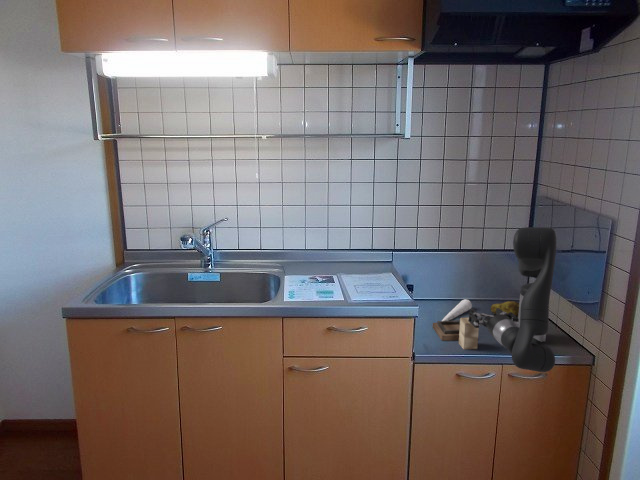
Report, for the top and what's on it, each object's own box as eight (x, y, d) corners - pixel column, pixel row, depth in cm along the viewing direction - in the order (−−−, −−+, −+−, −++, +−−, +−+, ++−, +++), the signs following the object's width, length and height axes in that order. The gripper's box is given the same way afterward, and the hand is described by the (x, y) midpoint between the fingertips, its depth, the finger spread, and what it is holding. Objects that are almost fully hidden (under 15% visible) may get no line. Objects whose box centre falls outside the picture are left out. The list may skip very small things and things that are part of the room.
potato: (504, 310, 208) (505, 293, 207) (525, 322, 197) (526, 303, 195) (487, 313, 206) (488, 295, 204) (507, 325, 194) (509, 306, 192)
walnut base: (462, 326, 193) (462, 318, 192) (473, 339, 181) (474, 331, 181) (432, 327, 192) (432, 319, 192) (441, 340, 181) (442, 332, 180)
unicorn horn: (430, 323, 197) (431, 312, 196) (462, 307, 213) (462, 297, 212) (440, 326, 194) (441, 315, 193) (471, 310, 210) (472, 300, 209)
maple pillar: (472, 342, 179) (473, 317, 177) (477, 348, 174) (479, 322, 172) (458, 343, 179) (460, 317, 176) (463, 349, 174) (465, 323, 171)
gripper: (530, 318, 144) (506, 299, 160) (483, 320, 143) (463, 301, 159) (527, 342, 146) (504, 321, 162) (481, 343, 145) (462, 322, 161)
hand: (484, 311), depth 160 cm, fingers open, 8 cm apart
